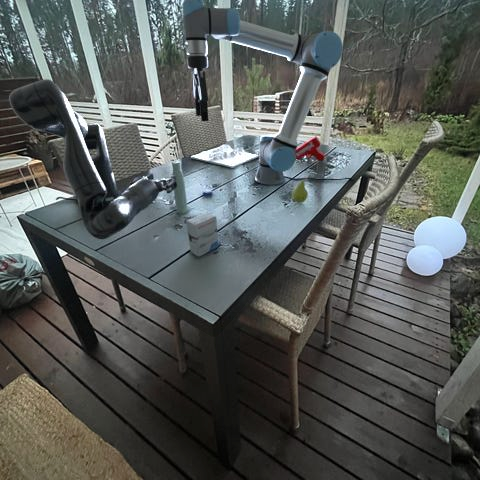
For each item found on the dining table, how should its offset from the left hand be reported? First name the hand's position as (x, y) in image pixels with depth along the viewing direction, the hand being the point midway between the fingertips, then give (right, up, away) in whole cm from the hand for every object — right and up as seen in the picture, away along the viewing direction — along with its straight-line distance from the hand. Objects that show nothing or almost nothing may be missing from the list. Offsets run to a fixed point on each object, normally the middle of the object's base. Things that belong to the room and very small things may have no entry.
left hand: (163, 176), depth 95 cm
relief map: (+17, +32, +85) cm, 93 cm away
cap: (+12, +1, +33) cm, 35 cm away
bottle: (+3, -10, +20) cm, 22 cm away
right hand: (+11, +27, +15) cm, 33 cm away
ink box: (+15, -25, -5) cm, 30 cm away
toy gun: (+70, +28, +78) cm, 109 cm away
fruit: (+54, -5, +26) cm, 60 cm away
